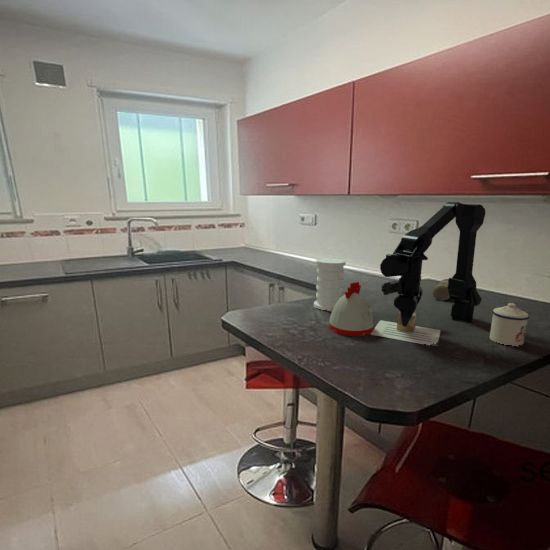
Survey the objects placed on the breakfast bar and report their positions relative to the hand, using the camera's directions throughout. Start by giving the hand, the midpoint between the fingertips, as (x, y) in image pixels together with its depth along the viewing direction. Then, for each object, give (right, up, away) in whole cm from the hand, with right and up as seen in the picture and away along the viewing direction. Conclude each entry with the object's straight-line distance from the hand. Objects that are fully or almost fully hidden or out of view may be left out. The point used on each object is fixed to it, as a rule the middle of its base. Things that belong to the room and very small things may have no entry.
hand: (406, 321), depth 117 cm
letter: (-1, -3, -2) cm, 4 cm away
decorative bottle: (+34, +6, +44) cm, 55 cm away
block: (0, -2, 0) cm, 2 cm away
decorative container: (-22, +3, +24) cm, 32 cm away
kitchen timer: (-18, -2, +1) cm, 18 cm away
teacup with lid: (+28, -5, -7) cm, 29 cm away
